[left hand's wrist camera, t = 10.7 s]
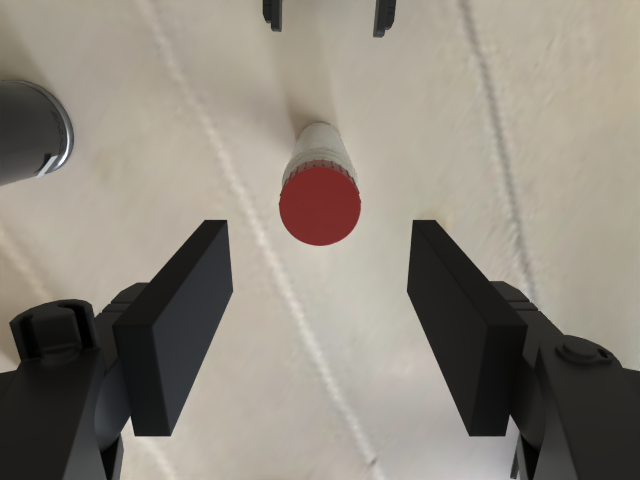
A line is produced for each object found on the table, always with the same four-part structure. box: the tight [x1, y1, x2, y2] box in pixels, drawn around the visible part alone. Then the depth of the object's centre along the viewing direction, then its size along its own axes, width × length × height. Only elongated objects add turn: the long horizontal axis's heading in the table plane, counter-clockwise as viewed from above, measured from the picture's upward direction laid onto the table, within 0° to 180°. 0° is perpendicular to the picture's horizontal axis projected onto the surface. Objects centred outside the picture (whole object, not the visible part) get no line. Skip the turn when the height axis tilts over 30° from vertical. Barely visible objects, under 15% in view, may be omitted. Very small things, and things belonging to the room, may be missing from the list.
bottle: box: [282, 122, 358, 188], centre depth 31 cm, size 5×5×24 cm
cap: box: [279, 159, 361, 246], centre depth 21 cm, size 4×4×2 cm
